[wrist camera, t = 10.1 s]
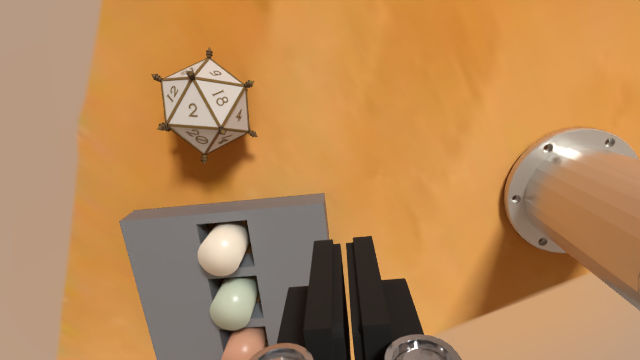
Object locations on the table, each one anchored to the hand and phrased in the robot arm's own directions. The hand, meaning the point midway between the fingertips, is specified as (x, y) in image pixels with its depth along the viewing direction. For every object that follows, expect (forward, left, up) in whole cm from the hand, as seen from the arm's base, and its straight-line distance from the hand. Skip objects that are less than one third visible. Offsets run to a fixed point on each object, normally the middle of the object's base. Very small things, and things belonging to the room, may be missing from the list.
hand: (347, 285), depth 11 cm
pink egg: (+12, +22, -27) cm, 36 cm away
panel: (+12, +16, -27) cm, 33 cm away
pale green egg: (+12, +16, -27) cm, 33 cm away
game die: (+11, -4, -27) cm, 30 cm away
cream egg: (+12, +10, -27) cm, 31 cm away
